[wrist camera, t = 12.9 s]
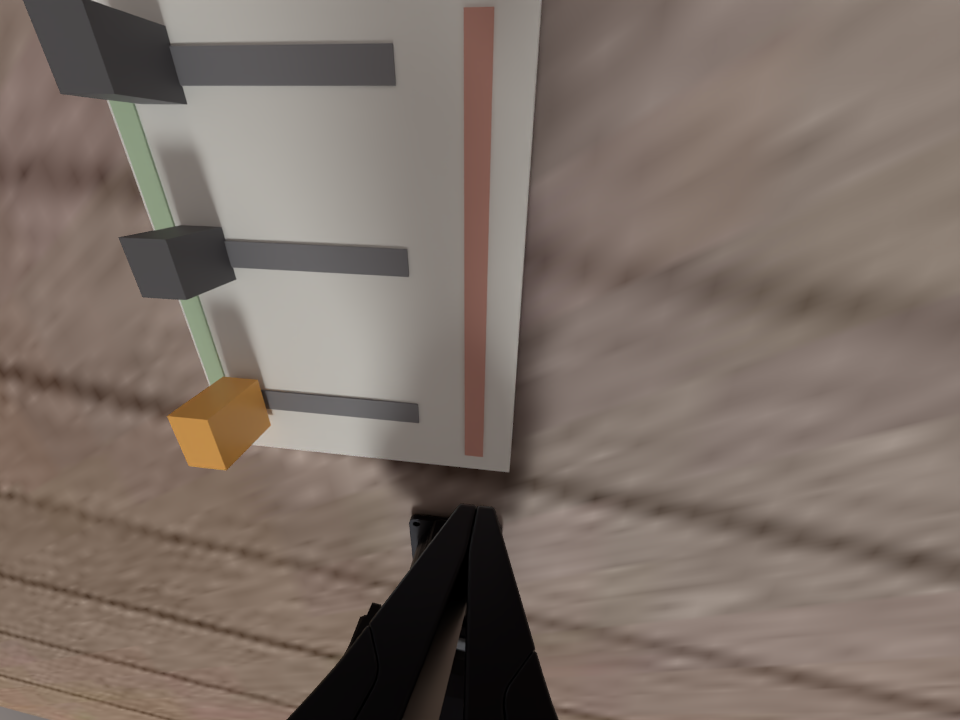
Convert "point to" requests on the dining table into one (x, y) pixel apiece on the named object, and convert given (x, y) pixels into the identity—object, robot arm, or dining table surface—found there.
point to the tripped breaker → (220, 422)
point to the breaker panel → (330, 202)
